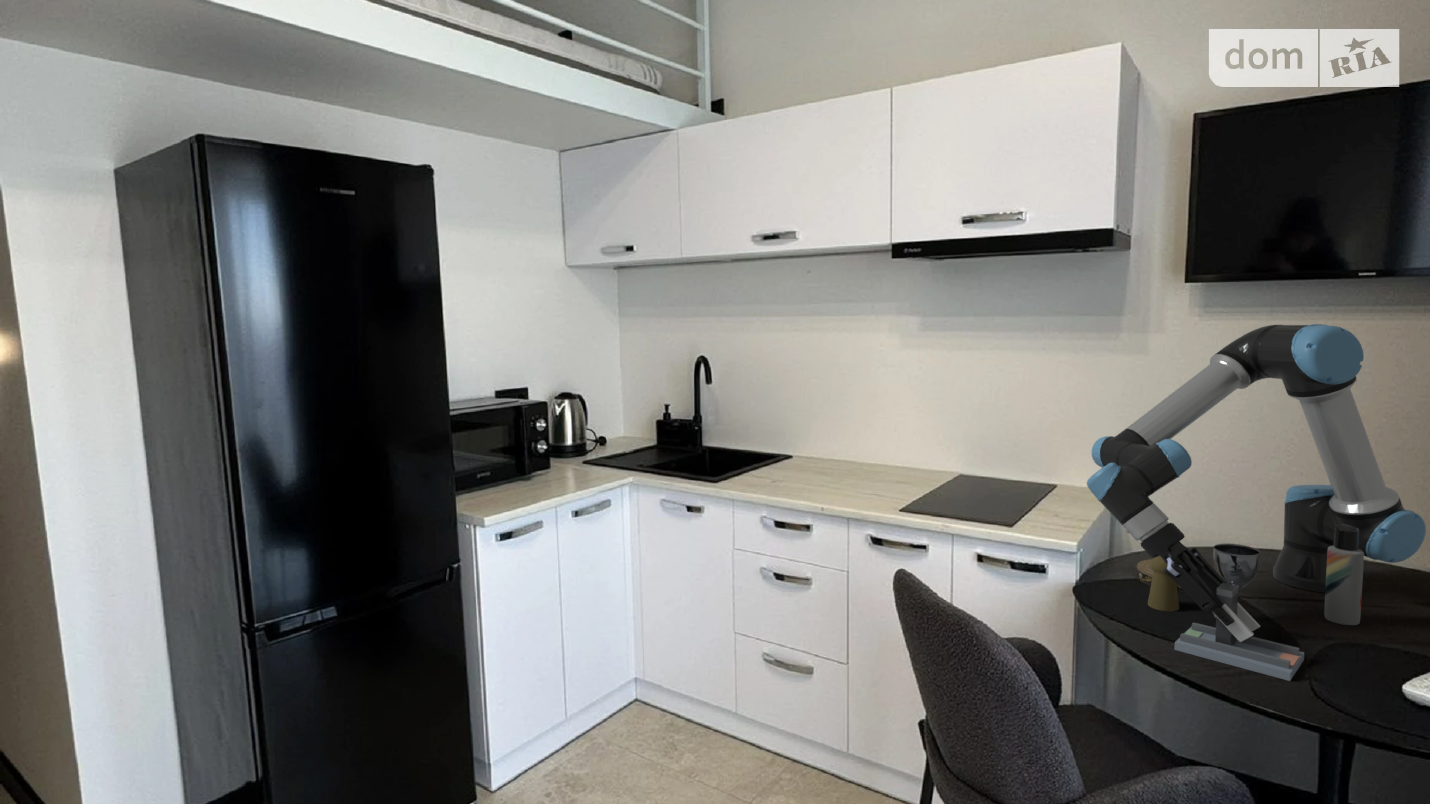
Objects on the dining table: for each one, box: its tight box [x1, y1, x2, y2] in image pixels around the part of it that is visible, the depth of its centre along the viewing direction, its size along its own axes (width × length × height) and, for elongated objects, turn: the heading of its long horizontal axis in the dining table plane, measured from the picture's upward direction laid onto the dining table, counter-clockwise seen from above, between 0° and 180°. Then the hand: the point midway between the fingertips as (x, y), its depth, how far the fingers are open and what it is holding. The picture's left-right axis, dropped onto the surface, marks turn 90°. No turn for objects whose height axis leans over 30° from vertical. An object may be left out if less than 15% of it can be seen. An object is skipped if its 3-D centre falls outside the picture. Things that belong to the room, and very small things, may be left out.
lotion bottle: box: [1323, 524, 1365, 626], centre depth 152 cm, size 6×6×20 cm
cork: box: [1147, 556, 1180, 612], centre depth 163 cm, size 6×6×11 cm
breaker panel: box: [1174, 622, 1305, 682], centre depth 140 cm, size 18×11×3 cm, turn 42°
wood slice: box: [1136, 558, 1186, 593], centre depth 179 cm, size 16×16×3 cm
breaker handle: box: [1215, 583, 1239, 646], centre depth 140 cm, size 2×4×11 cm, turn 132°
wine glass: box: [1213, 543, 1261, 619], centre depth 155 cm, size 8×8×15 cm
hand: (1250, 633), depth 138 cm, fingers closed on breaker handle, 4 cm apart
